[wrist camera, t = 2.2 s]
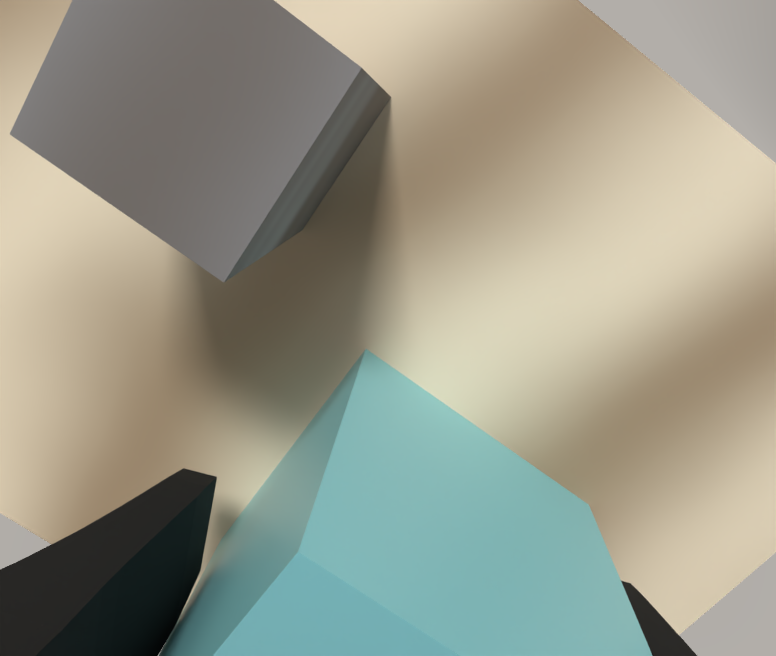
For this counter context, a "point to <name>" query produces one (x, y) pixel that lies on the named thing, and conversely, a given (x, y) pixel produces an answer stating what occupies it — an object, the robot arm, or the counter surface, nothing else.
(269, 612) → the teal foam cube
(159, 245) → the board
